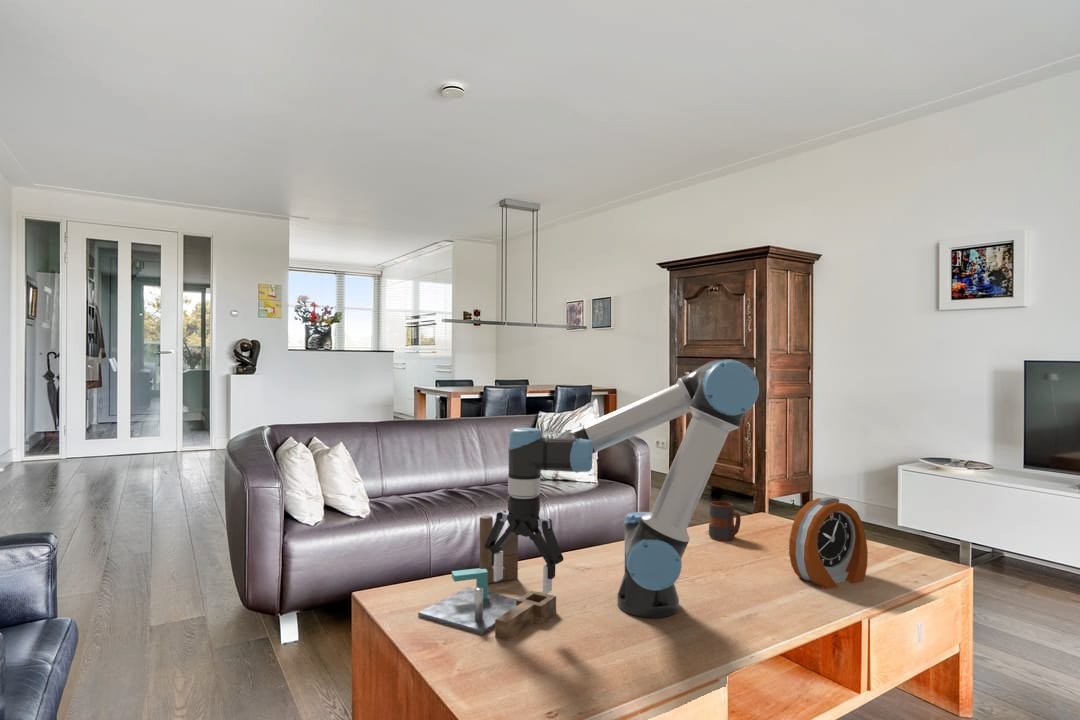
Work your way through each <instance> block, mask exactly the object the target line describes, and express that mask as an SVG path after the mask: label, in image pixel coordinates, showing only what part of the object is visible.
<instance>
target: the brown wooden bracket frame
mask: <svg viewBox="0 0 1080 720" xmlns="http://www.w3.org/2000/svg"><path fill="white" fill-rule="evenodd" d="M493 521H494V520H493V516H492V515H487V514H486V515H480V516H479V567H478V568H479V569H486V570H487V572H488V585H489V584H493V583H494V584H495V583H501V582H505V581H506V582H508V581H515V580H518V579H519V559H518V558H519V555H518V554H519V535H515V533H514V534H513V535H512V536H511V537H510V539H509V540H508V541H507V542H506V543H505V544H504V546H503V547H502V548H501V550H499V551H503V579H501V580H499V581H497V582H495V581H494V566H492V563H491V562H492V552H491V551H490V550H489V549H486V548H485V543H486V541H487V539H488V537H489V535H490V533H491V530H492V528H493V526H494V522H493Z"/></svg>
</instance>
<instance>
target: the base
mask: <svg viewBox="0 0 1080 720" xmlns="http://www.w3.org/2000/svg"><path fill="white" fill-rule="evenodd" d="M517 599H518V598H514V597H510V596H505V595H503V594H497V593H494V592H490V591H488V598H483V588H481V587H477V588H476V587H475V588H473V587H470V586H469V587H468V586H466V587H464V588H463V589H461V590H459V591H457V592H455V593H453V594H451V595H449V596H447V597H445V598H443V599H442V600H440V601H437V602H436V603H433V604H431V605H430V606H427V607H426V608H423V609H422V610H420V611H418V613H417V615H418V617H419V618H423V619H427V620H429V621H432V622H436V623H440V624H443V625H447V626H450V627H454V628H457V629H460V630H464V631H468V632H471V633H474V634H478V635H480V636H484V635H486V634H487V633H488V632H490V631H492V630H493V629H495V619H497V618H498V617H500V616H502V615H503V614H505V613H506V612H508V611H509V610H511V609H513V608H514V607H516V600H517Z"/></svg>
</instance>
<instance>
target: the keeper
mask: <svg viewBox="0 0 1080 720" xmlns="http://www.w3.org/2000/svg"><path fill="white" fill-rule="evenodd" d="M479 568H480V567H478V568H470V569H469V568H468V569H461V570H451V578H452V580H453V581H454V582H455V583H456V582H463V581H470V580H475V581H476V583H475V588H477V587H481V588H483V598H488V592H489V590H488V588H489V587H488V585H489V584H488V572H487V570H486V569H479Z"/></svg>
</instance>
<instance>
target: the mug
mask: <svg viewBox="0 0 1080 720" xmlns="http://www.w3.org/2000/svg"><path fill="white" fill-rule="evenodd" d="M734 508H735V507H734V504H733V503H732V502H728V501H721V500H718V501H716V500H715V501H712V502H710V504H709V517H710V518H709V524H708V536H709V537H710V539H712V540H715V541H719V542H720V541H721V542H729V541H733V540H734V538H735V536H736V535H737V534H738V533H739V530H740V527H741V522H742V521H741V520H742V519H741V515H740V513H739V512H738V511H735V509H734ZM734 518H735V520H734ZM734 521H735V522H734ZM734 523H735V524H734Z"/></svg>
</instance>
